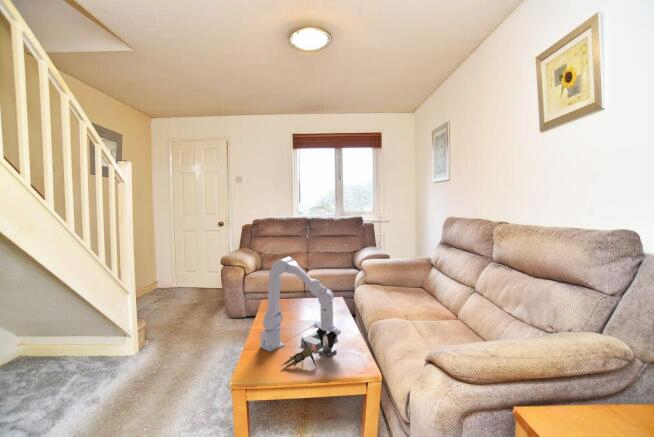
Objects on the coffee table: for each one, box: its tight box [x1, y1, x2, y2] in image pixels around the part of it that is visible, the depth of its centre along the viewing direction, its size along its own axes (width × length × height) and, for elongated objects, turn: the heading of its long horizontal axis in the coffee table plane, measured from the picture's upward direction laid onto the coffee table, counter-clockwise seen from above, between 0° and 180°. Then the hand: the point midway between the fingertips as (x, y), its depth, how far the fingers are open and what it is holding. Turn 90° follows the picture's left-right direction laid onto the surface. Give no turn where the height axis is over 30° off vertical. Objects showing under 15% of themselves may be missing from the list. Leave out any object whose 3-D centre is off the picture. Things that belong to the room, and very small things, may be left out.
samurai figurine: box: [275, 323, 318, 370], centre depth 129 cm, size 16×10×20 cm
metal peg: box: [323, 333, 333, 352], centre depth 139 cm, size 4×4×7 cm
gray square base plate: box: [317, 347, 338, 358], centre depth 139 cm, size 6×6×2 cm
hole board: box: [300, 331, 338, 352], centre depth 150 cm, size 16×10×3 cm, turn 139°
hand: (327, 346), depth 139 cm, fingers closed on metal peg, 4 cm apart
